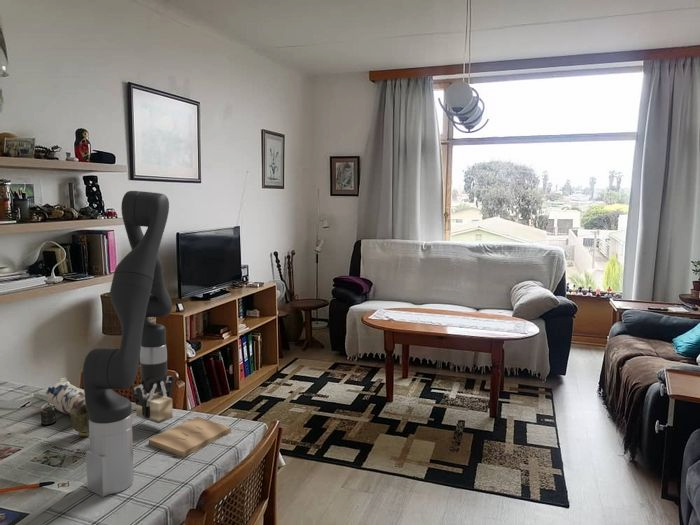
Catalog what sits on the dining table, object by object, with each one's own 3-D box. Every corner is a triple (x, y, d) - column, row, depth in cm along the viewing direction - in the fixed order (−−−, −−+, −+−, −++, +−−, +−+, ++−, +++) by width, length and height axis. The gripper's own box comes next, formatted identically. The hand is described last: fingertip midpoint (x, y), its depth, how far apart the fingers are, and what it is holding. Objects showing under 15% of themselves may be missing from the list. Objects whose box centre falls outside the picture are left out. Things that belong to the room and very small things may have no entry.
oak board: (183, 457, 134) (183, 451, 134) (148, 444, 141) (148, 439, 141) (231, 432, 149) (231, 427, 149) (197, 421, 156) (197, 416, 156)
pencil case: (45, 411, 162) (43, 382, 161) (71, 402, 169) (70, 374, 168) (83, 427, 150) (82, 396, 149) (110, 418, 158) (109, 388, 157)
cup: (105, 430, 149) (104, 404, 148) (89, 441, 141) (88, 414, 141) (81, 428, 149) (80, 403, 149) (65, 440, 142) (63, 413, 141)
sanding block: (158, 423, 147) (158, 403, 146) (136, 416, 152) (136, 397, 151) (172, 417, 151) (172, 398, 151) (150, 410, 156) (150, 392, 156)
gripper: (141, 367, 142) (142, 425, 144) (181, 356, 154) (181, 409, 156) (124, 363, 146) (125, 419, 147) (164, 352, 158) (165, 404, 160)
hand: (154, 414), depth 152 cm, fingers closed on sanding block, 5 cm apart
